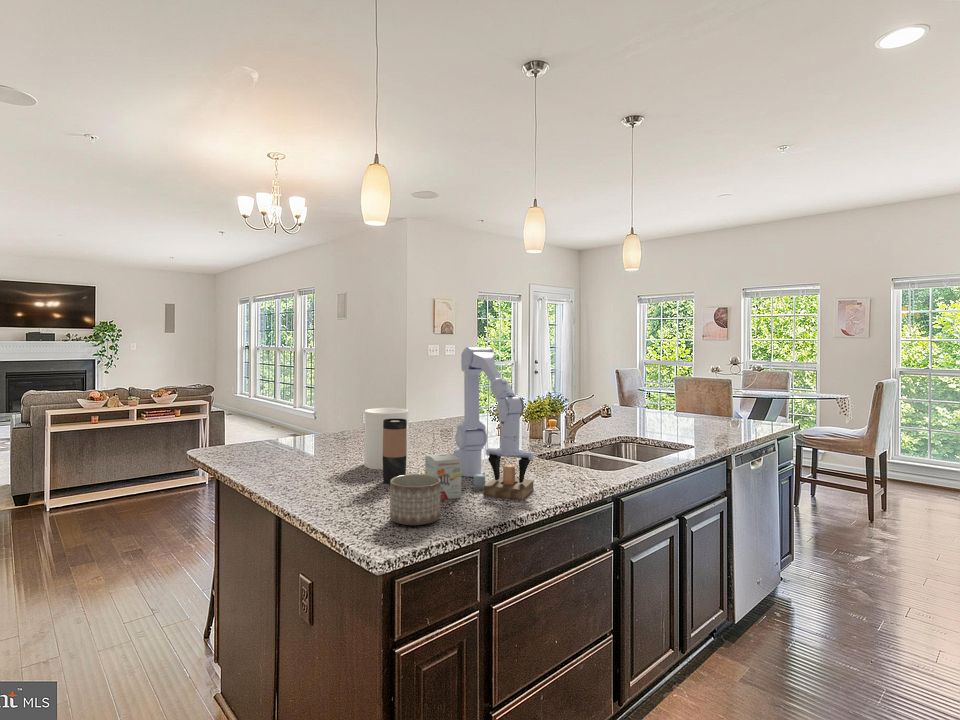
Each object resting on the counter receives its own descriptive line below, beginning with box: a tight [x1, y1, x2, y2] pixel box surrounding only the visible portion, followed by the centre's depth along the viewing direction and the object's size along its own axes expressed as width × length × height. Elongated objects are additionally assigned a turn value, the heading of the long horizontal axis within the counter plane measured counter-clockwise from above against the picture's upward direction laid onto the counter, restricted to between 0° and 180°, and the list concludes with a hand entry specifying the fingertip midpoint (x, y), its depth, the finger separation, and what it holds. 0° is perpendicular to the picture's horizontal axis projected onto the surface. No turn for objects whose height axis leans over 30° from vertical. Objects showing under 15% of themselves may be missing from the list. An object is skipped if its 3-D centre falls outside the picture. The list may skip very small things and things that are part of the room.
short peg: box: [473, 474, 486, 491], centre depth 167 cm, size 4×4×4 cm
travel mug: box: [382, 419, 407, 485], centre depth 174 cm, size 8×8×20 cm
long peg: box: [502, 464, 516, 485], centre depth 163 cm, size 4×4×8 cm
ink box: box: [424, 453, 462, 501], centre depth 159 cm, size 9×9×12 cm
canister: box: [363, 407, 410, 471], centre depth 198 cm, size 16×16×20 cm
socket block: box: [483, 476, 534, 501], centre depth 163 cm, size 12×12×3 cm
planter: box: [389, 473, 441, 526], centre depth 136 cm, size 13×13×10 cm
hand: (509, 480), depth 163 cm, fingers open, 7 cm apart
